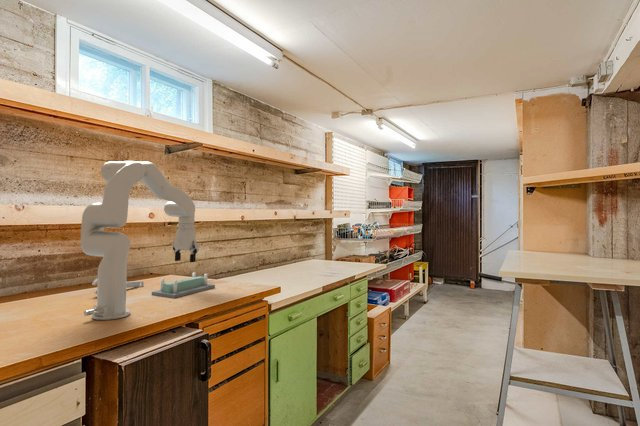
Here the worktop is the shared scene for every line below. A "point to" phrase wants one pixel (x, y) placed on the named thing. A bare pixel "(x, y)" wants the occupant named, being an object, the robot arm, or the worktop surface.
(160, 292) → the stand
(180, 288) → the bar
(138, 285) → the wrench
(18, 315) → the worktop surface
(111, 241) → the robot arm
